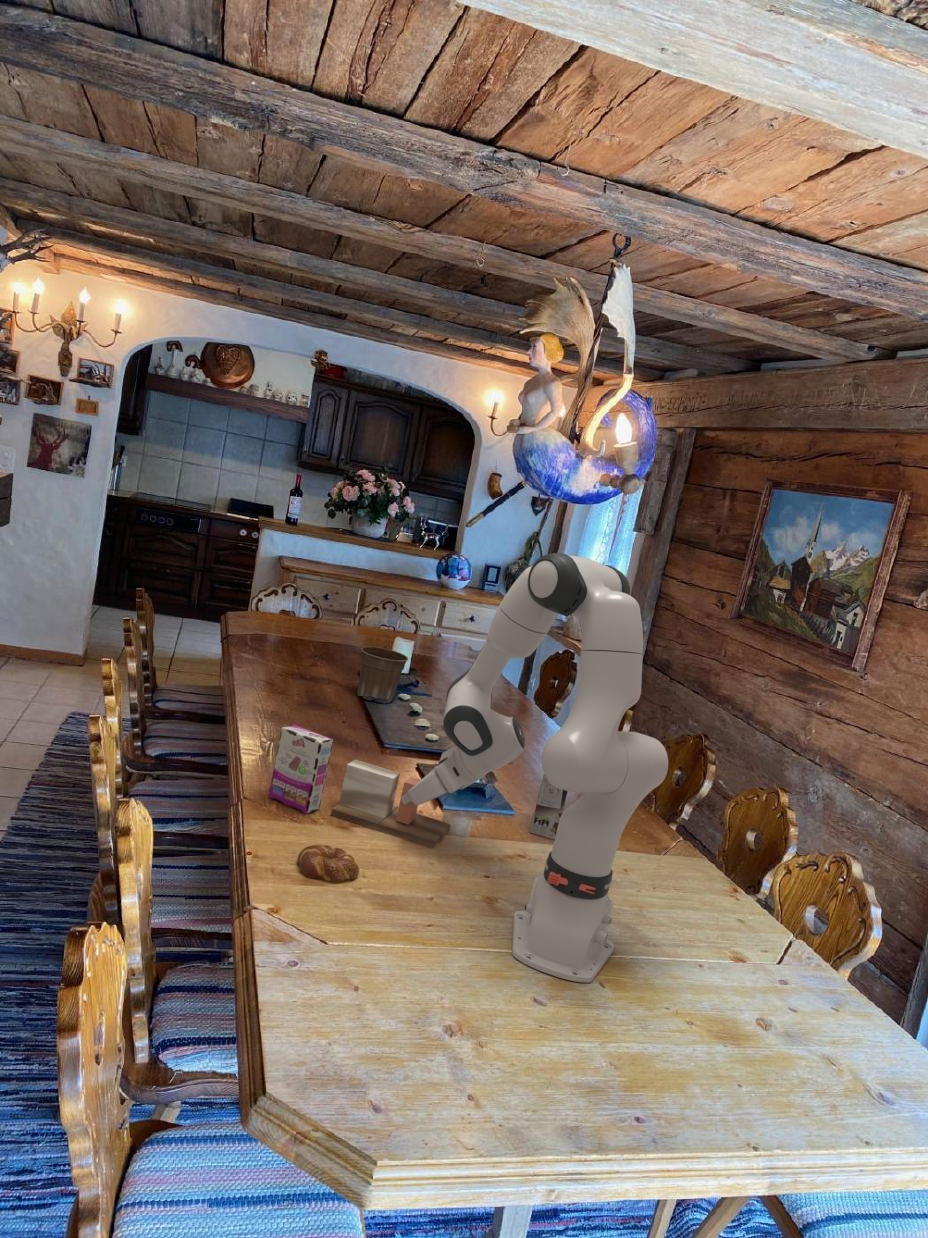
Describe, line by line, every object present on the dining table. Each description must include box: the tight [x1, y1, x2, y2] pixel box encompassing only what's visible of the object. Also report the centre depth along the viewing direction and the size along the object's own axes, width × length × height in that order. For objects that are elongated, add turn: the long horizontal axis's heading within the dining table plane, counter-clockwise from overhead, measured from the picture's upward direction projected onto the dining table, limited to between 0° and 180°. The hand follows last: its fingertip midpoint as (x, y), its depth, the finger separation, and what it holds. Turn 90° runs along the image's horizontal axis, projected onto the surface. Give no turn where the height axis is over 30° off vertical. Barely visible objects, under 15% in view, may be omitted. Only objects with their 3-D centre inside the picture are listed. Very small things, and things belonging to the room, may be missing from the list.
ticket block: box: [330, 759, 451, 850], centre depth 190 cm, size 12×24×11 cm, turn 74°
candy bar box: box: [268, 724, 334, 814], centre depth 188 cm, size 11×5×16 cm, turn 62°
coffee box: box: [529, 774, 569, 840], centre depth 205 cm, size 9×6×16 cm
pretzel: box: [297, 844, 360, 883], centre depth 162 cm, size 12×11×4 cm
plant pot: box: [356, 646, 409, 699], centre depth 290 cm, size 16×16×16 cm
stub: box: [396, 776, 421, 825], centre depth 189 cm, size 4×3×9 cm, turn 164°
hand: (407, 796), depth 189 cm, fingers open, 4 cm apart
